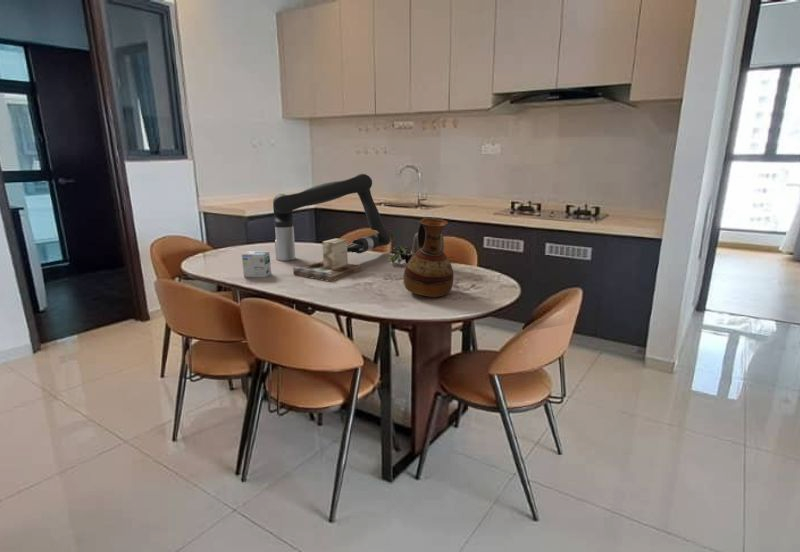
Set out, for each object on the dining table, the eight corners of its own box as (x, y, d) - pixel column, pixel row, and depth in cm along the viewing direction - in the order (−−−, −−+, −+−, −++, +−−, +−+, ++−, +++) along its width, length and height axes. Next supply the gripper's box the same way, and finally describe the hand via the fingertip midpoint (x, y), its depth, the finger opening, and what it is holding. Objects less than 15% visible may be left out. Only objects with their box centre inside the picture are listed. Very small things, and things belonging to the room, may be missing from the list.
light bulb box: (271, 273, 215) (269, 251, 212) (266, 277, 209) (264, 254, 206) (249, 273, 216) (247, 250, 213) (243, 277, 210) (241, 253, 207)
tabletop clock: (443, 268, 224) (444, 216, 217) (442, 273, 215) (444, 219, 208) (413, 267, 225) (413, 215, 219) (411, 272, 217) (411, 218, 210)
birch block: (323, 266, 219) (322, 241, 215) (337, 262, 227) (336, 238, 224) (334, 268, 215) (333, 243, 212) (347, 264, 224) (346, 239, 220)
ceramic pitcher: (416, 303, 173) (417, 223, 165) (395, 289, 191) (395, 216, 183) (462, 297, 181) (464, 220, 173) (437, 283, 199) (439, 213, 191)
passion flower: (406, 274, 234) (420, 256, 229) (395, 275, 225) (409, 256, 220) (392, 259, 238) (405, 241, 233) (380, 259, 229) (394, 240, 224)
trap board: (293, 274, 214) (293, 267, 213) (326, 263, 232) (326, 257, 231) (330, 281, 202) (330, 273, 201) (362, 269, 221) (361, 262, 220)
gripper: (352, 236, 240) (330, 241, 226) (373, 238, 234) (352, 244, 219) (352, 250, 242) (331, 257, 228) (373, 253, 236) (352, 260, 221)
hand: (341, 251), depth 224 cm, fingers closed
